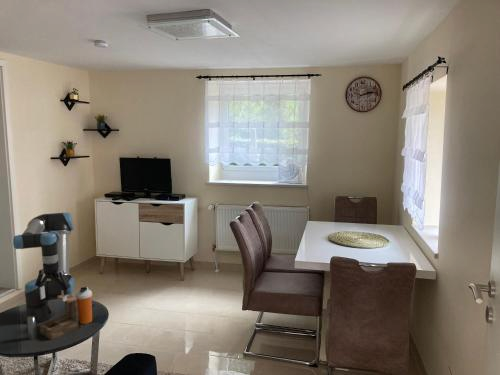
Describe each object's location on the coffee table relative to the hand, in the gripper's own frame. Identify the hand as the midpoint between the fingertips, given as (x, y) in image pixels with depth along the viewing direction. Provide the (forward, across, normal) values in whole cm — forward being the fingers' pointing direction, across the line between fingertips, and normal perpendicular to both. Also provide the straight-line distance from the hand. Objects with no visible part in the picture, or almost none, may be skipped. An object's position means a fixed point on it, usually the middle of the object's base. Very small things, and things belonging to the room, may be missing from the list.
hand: (53, 299), depth 221 cm
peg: (+21, -11, -5) cm, 24 cm away
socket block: (+21, -2, +5) cm, 22 cm away
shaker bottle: (+21, +5, +18) cm, 29 cm away
